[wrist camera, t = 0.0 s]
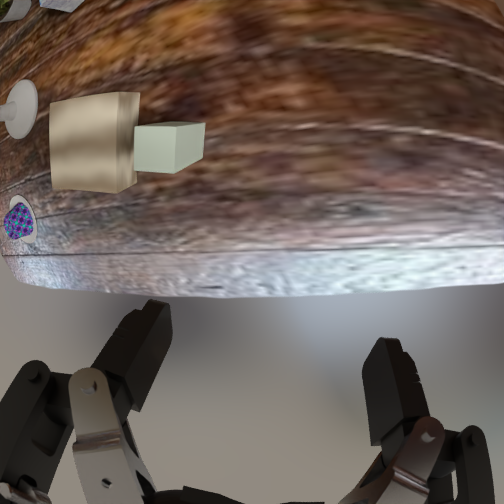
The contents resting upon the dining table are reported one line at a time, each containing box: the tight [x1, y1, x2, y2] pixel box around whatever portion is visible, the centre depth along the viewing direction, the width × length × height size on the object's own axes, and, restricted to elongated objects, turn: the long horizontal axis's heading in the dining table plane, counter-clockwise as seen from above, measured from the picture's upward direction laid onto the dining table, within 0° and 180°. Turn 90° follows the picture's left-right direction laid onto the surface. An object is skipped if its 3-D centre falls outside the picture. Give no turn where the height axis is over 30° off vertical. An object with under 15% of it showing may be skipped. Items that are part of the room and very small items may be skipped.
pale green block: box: [134, 122, 205, 174], centre depth 30 cm, size 5×5×10 cm
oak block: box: [49, 92, 140, 193], centre depth 33 cm, size 14×14×6 cm
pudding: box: [4, 195, 37, 243], centre depth 44 cm, size 12×12×5 cm
